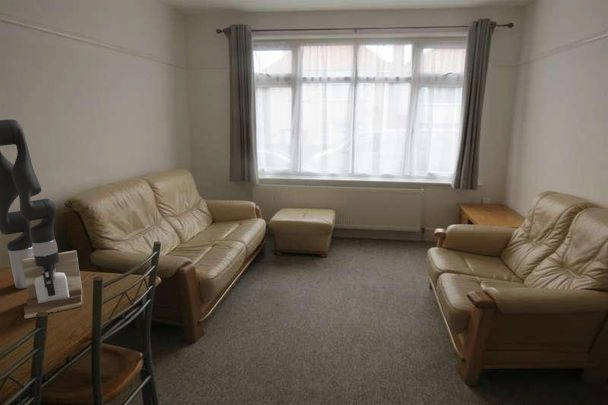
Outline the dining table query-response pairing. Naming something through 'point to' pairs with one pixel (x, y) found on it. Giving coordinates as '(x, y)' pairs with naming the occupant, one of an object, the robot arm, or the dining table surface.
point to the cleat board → (65, 265)
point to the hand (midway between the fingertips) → (52, 291)
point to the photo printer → (59, 287)
